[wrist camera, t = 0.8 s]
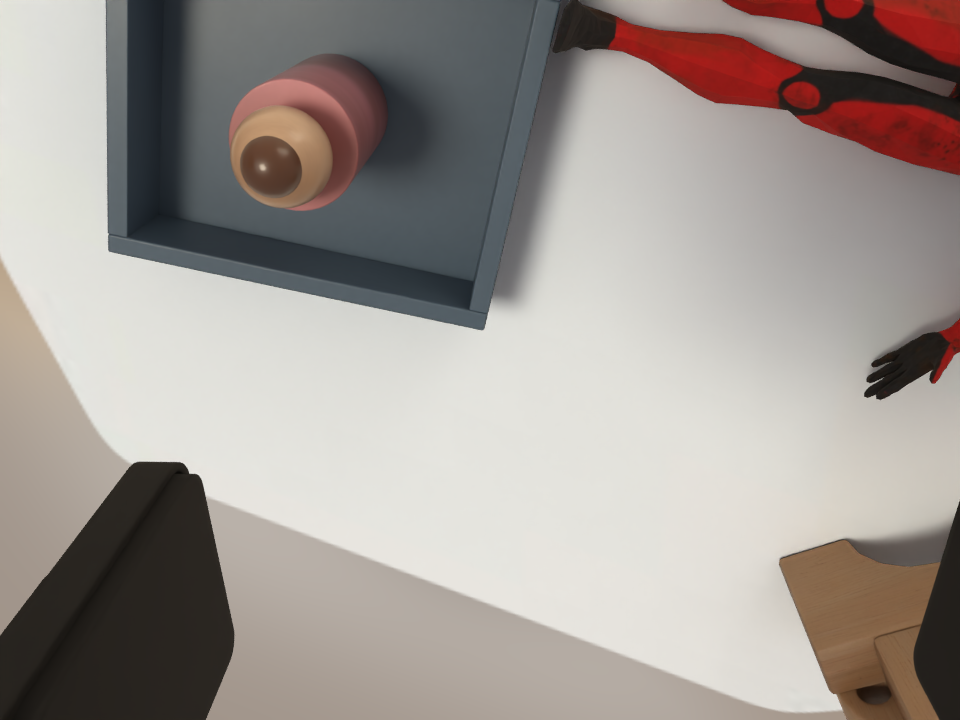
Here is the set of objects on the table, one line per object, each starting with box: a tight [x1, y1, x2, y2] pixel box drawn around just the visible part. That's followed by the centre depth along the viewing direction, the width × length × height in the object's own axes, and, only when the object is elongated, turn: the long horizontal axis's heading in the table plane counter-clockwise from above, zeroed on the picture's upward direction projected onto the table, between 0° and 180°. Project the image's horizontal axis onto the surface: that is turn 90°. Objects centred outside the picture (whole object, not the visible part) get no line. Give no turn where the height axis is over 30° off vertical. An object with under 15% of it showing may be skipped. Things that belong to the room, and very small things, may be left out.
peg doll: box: [229, 54, 388, 211], centre depth 29 cm, size 4×4×10 cm
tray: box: [106, 0, 561, 330], centre depth 32 cm, size 14×16×4 cm
